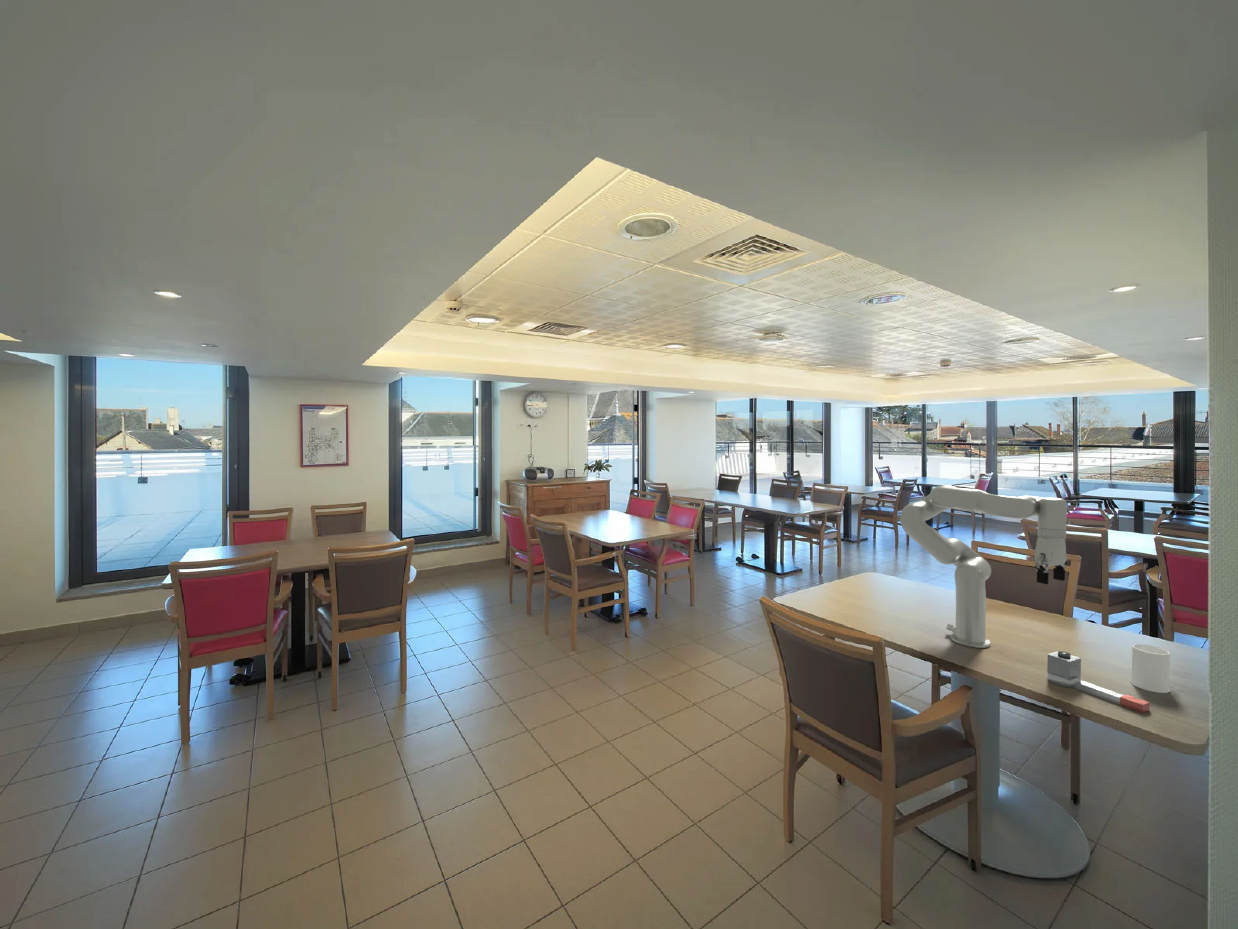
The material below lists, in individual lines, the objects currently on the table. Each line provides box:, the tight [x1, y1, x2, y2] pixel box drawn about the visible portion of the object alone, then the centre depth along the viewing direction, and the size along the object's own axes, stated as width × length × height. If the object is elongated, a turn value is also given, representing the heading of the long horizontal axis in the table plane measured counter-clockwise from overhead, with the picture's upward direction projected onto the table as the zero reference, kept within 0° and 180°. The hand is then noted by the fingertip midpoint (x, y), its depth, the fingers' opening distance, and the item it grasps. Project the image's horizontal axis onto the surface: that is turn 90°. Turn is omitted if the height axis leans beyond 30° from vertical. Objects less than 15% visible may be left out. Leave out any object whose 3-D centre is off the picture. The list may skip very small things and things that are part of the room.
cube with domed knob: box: [1046, 650, 1082, 680], centre depth 160 cm, size 6×6×7 cm
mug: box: [1130, 643, 1171, 694], centre depth 156 cm, size 12×8×12 cm
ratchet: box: [1047, 672, 1150, 714], centre depth 153 cm, size 24×8×6 cm, turn 22°
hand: (1050, 581), depth 175 cm, fingers open, 9 cm apart
